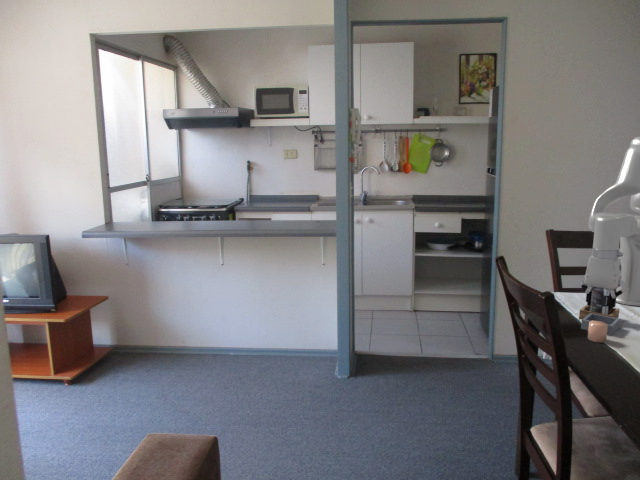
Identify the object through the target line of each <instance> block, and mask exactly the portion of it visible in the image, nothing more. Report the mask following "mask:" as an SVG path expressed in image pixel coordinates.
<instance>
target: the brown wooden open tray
mask: <svg viewBox="0 0 640 480" xmlns="http://www.w3.org/2000/svg"><path fill="white" fill-rule="evenodd" d="M590 313H593V314H598V315H603V316H608V317H613V318H618V319H620V317H619V316H620V308H616V307H613V309H612V310H610V314H609V315H606V314H601V313H596V312H591V311H590V305H589V306H588V305H587V304H586V305H585V306H583V307H582V308H581V309H579V313H578V314H579V316H578V319H579V320H580V319H583V318H585V317H586V316H587V315H588V314H590Z"/></svg>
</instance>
